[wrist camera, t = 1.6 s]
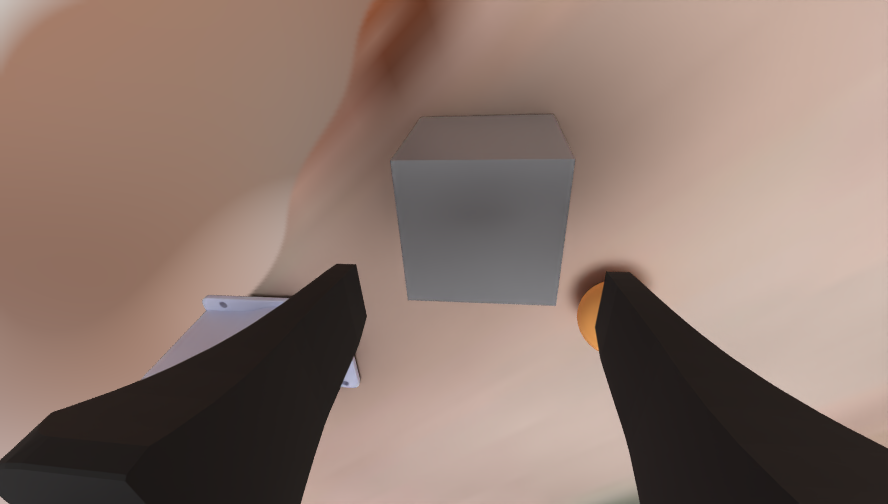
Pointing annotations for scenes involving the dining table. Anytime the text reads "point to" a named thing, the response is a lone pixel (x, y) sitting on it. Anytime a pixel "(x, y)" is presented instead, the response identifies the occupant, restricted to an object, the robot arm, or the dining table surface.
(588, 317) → the ball
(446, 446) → the dining table surface
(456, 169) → the grey cube
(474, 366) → the dining table surface
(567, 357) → the dining table surface
